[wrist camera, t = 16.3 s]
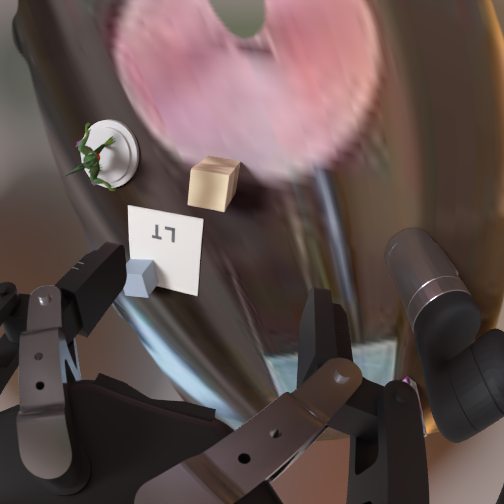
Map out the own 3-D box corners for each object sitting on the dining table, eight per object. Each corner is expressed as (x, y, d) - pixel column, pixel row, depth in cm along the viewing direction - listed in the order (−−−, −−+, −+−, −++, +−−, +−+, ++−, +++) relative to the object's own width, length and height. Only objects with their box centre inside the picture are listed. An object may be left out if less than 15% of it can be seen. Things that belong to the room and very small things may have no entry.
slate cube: (153, 259, 54) (141, 274, 50) (158, 282, 57) (148, 297, 53) (130, 258, 55) (118, 273, 51) (136, 280, 58) (125, 295, 53)
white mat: (203, 219, 49) (203, 219, 49) (197, 295, 57) (197, 295, 57) (128, 205, 50) (127, 205, 50) (132, 278, 58) (132, 279, 58)
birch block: (240, 161, 44) (229, 175, 37) (235, 192, 46) (224, 211, 39) (208, 156, 44) (191, 168, 37) (204, 186, 46) (187, 204, 40)
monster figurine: (149, 172, 46) (117, 193, 38) (99, 195, 50) (65, 218, 41) (124, 107, 41) (85, 114, 32) (74, 137, 45) (36, 151, 36)
